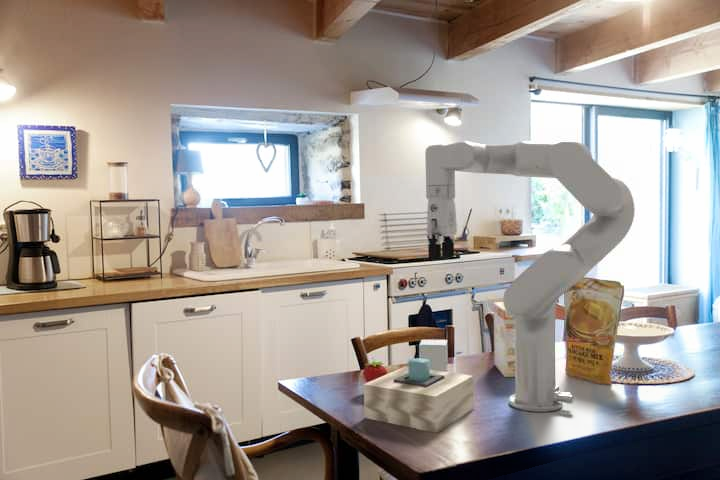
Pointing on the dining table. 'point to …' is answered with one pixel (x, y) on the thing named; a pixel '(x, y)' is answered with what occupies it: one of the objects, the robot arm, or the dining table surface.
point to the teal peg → (419, 369)
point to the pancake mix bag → (592, 328)
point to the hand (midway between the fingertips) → (441, 258)
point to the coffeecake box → (504, 340)
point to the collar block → (419, 399)
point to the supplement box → (435, 354)
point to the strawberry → (374, 371)
